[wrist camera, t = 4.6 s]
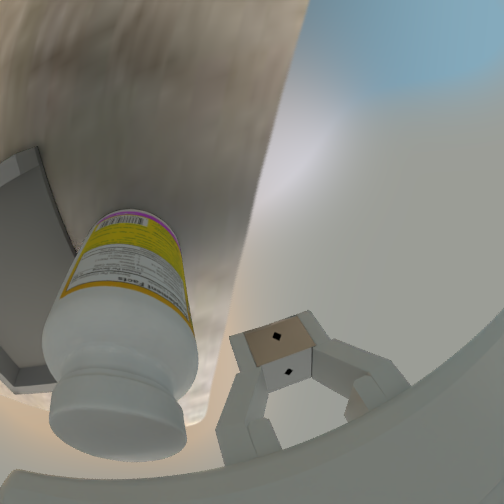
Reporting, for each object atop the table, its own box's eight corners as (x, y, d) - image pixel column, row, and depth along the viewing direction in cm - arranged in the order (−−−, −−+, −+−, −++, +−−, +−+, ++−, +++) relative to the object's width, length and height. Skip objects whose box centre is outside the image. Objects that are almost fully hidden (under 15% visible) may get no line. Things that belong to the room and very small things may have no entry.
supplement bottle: (140, 308, 19) (145, 477, 8) (70, 255, 16) (6, 426, 5) (202, 249, 18) (258, 430, 8) (128, 183, 15) (57, 347, 4)
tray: (20, 372, 19) (14, 394, 16) (-70, 224, 9) (-88, 239, 7) (133, 353, 21) (132, 380, 18) (37, 146, 12) (14, 153, 9)
